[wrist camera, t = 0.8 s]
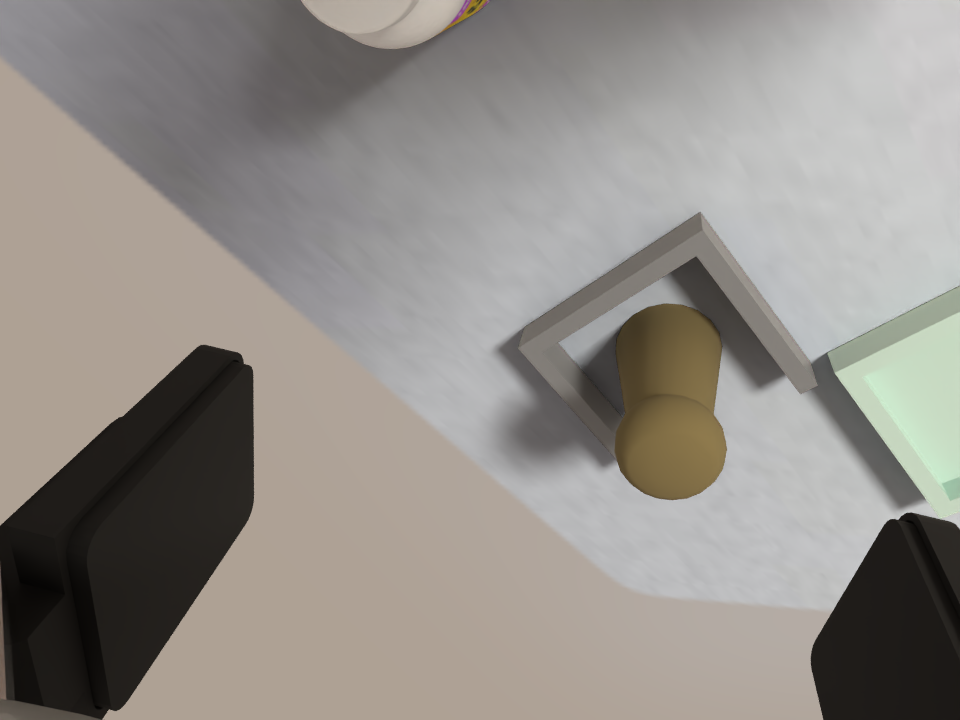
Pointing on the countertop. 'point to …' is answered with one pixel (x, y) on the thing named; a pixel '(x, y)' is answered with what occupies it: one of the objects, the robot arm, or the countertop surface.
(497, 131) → the countertop surface
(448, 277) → the countertop surface
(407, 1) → the supplement bottle
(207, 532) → the robot arm
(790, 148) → the countertop surface
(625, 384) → the cork
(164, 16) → the countertop surface
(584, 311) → the frame
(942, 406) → the tray
